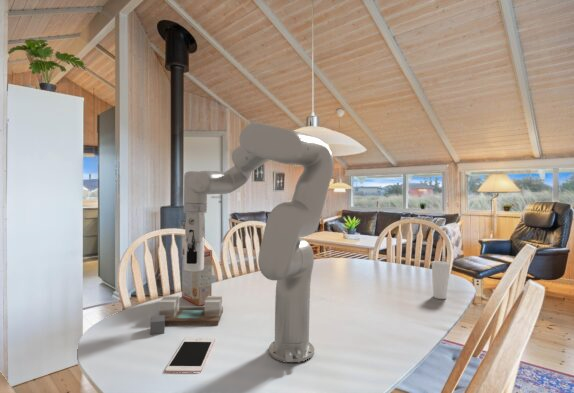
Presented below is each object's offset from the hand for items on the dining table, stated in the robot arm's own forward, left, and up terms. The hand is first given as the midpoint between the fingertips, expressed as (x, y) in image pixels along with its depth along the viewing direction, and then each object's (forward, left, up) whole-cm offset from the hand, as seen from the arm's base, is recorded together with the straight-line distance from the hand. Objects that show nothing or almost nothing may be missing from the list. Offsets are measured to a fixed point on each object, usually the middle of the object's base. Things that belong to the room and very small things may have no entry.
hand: (194, 260), depth 114 cm
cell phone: (-24, -5, -21) cm, 32 cm away
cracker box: (+19, +3, -20) cm, 28 cm away
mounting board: (+1, +1, -20) cm, 20 cm away
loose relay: (-9, +9, -20) cm, 24 cm away
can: (0, 0, -3) cm, 3 cm away
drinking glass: (+23, -98, -20) cm, 103 cm away
